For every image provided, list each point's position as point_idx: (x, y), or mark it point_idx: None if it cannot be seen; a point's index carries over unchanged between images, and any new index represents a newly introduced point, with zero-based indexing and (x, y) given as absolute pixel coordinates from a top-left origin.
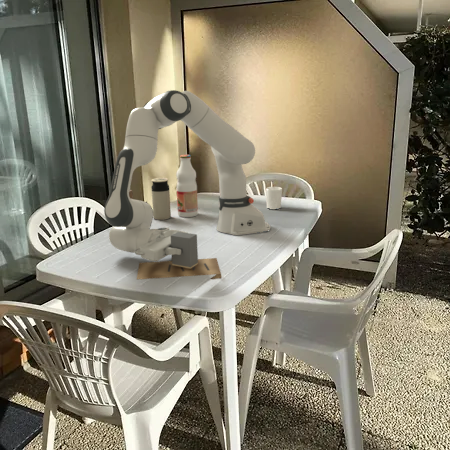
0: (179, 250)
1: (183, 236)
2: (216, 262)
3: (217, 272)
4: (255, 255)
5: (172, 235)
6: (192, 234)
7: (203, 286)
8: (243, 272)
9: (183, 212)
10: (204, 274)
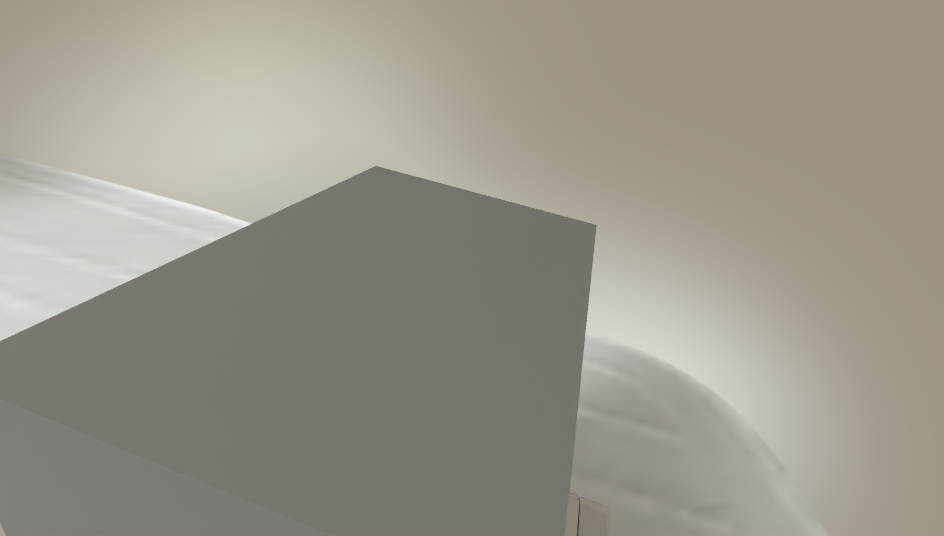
0: (602, 520)
1: (519, 270)
2: None
3: None
4: (110, 247)
5: (509, 524)
6: (379, 188)
7: (627, 466)
8: None
9: None
10: None
